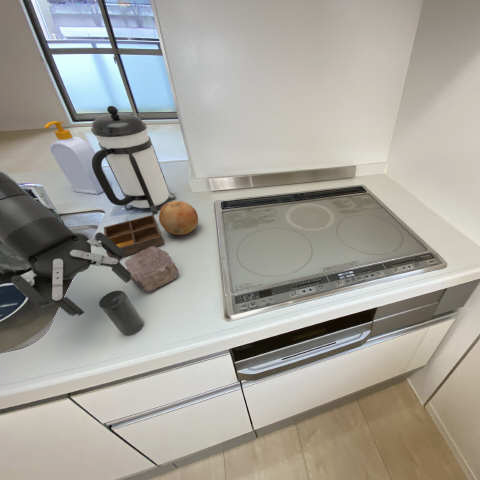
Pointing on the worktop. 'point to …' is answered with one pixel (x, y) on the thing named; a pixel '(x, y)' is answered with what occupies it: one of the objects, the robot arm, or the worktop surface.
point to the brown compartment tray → (135, 235)
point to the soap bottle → (75, 160)
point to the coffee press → (128, 161)
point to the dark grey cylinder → (121, 312)
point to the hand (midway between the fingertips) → (107, 296)
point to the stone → (151, 268)
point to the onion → (178, 217)
